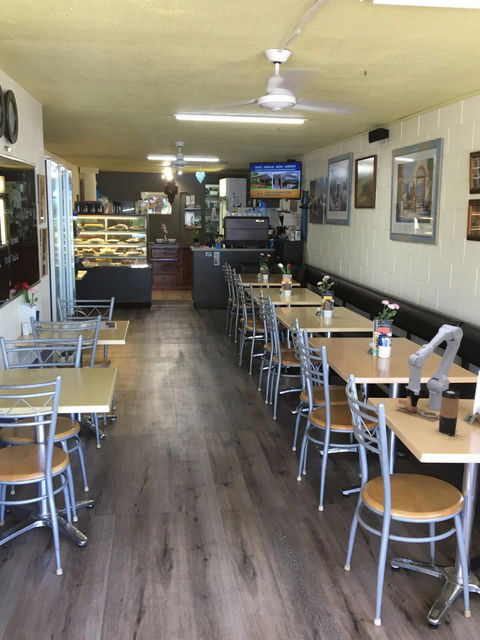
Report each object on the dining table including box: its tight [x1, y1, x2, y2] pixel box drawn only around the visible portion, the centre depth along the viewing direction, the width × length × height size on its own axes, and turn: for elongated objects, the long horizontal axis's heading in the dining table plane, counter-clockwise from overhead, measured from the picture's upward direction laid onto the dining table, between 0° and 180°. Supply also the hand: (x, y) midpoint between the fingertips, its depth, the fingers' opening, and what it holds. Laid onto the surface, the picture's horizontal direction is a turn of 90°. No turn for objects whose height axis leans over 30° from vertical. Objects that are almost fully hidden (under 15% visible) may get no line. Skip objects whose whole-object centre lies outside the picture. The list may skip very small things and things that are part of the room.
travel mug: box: [438, 388, 460, 437], centre depth 279 cm, size 8×8×20 cm
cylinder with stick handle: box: [397, 395, 418, 412], centre depth 309 cm, size 10×5×6 cm, turn 42°
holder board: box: [394, 406, 440, 423], centre depth 304 cm, size 12×22×2 cm, turn 40°
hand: (412, 404), depth 307 cm, fingers closed on cylinder with stick handle, 5 cm apart
